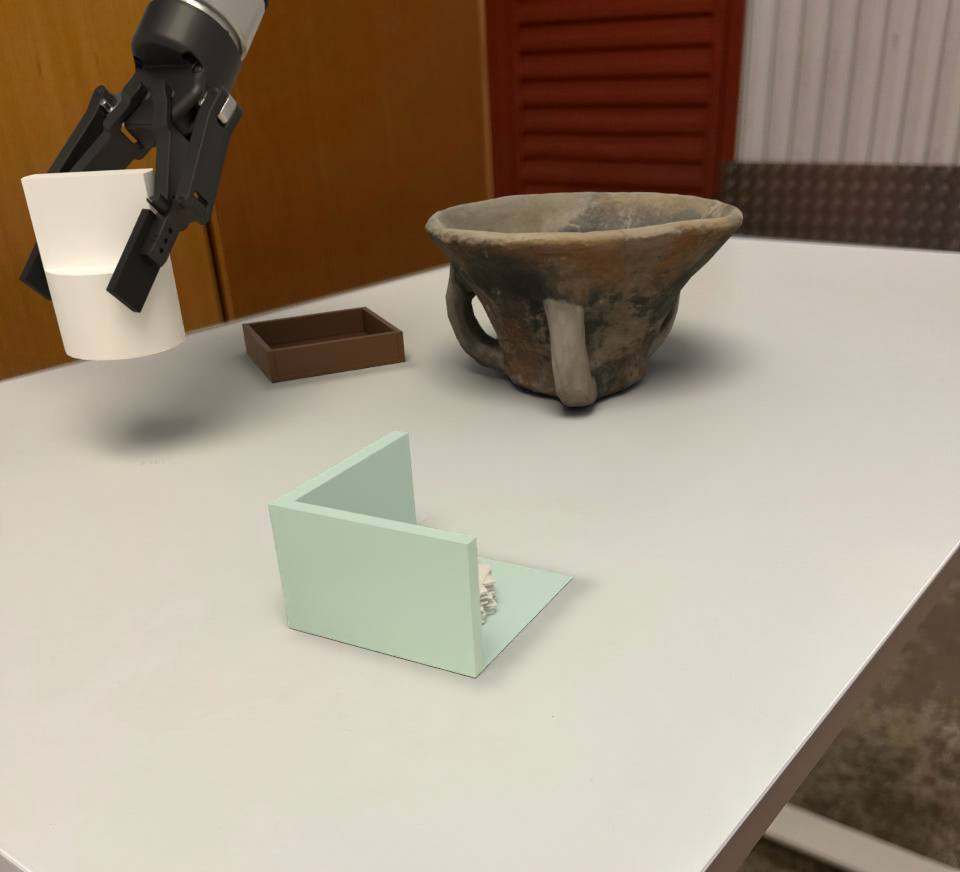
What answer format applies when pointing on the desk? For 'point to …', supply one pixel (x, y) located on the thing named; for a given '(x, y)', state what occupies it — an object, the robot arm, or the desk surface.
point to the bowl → (575, 282)
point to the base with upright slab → (99, 263)
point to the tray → (322, 343)
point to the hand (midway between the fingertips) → (78, 295)
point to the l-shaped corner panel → (396, 568)
